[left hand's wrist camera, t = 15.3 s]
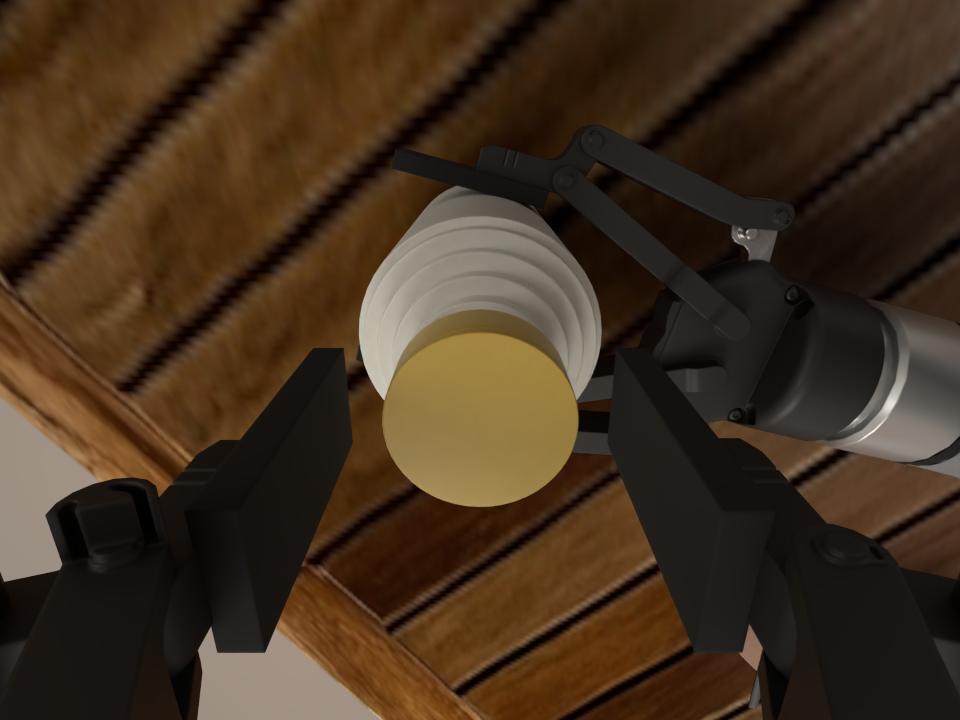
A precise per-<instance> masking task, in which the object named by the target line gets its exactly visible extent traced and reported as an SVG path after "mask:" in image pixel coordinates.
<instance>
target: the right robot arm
mask: <svg viewBox="0 0 960 720" xmlns="http://www.w3.org/2000/svg"><path fill="white" fill-rule="evenodd" d="M596 162H597V163H599V164H601V165H603V166H605V167H607V168H609V169H611V170H613V171H615V172H617V173H619V174H621V175H623V176H625V177H627V178H629V179H631V180H633V181H635V182H637V183H639V184H641V185H643V186H645V187H647V188H649V189H651V190H653V191H655V192H657V193H659V194H661V195H663V196H665V197H667V198H669V199H671V200H673V201H675V202H677V203H679V204H681V205H683V206H685V207H687V208H689V209H691V210H693V211H695V212H697V213H699V214H702V215H704V216H706V217H709V218H712V219H715V220H718V221H721V222H724V223H725V224H724V229H723V232H724V235H725V237H726V238H727V239H728V240H730V241H733V242H735V243H737V244H738V246H739V247H740V256H738V257H735V258H733V259H730V260H727V261H725V262H722V263H719V264H716V265H714V266H711V267H708V268H706V269H703V270H700V271H698V272H695V271H694V270H693V269H692V268H690V267H689V266H688V265H687V264H685V263H684V262H683V261H681V260H680V259H679V258H678V257H677V256H676V255H674V254H673V253H672V252H671V251H670V250H669V249H668V248H666V247H665V246H664V245H663V244H662V243H661V242H660V241H658V240H657V239H656V238H655V237H654V236H653V235H652V234H650V233H649V232H648V231H647V230H646V229H645V228H644V227H642V226H641V225H640V224H639V223H638V222H637V221H636V220H634V219H633V218H632V217H631V216H630V215H629V214H628V213H626V212H625V211H624V210H623V209H622V208H621V207H619V206H618V205H617V204H616V203H615V202H614V201H613V200H611V199H610V198H609V197H608V196H607V195H606V194H605V193H603V192H602V191H601V190H600V189H599V188H598V187H597V186H595V185H594V184H593V183H592V182H591V181H590V180H589V179H587V178H586V175H587V174H588V173H589V171H590V170H591V169H592V167H593V166H594V164H595V163H596ZM392 169H396V170H400V171H403V172H407V173H411V174H415V175H418V176H422V177H426V178H430V179H433V180H437V181H441V182H445V183H448V184H452V185H456V186H460V187H463V188H467V189H471V190H475V191H478V192H482V193H486V194H490V195H493V196H497V197H501V198H505V199H508V200H512V201H516V202H520V203H523V204H527V205H531V206H535V207H538V208H542V209H543V208H544V205H545V201H546V198H547V194H548V191H550V192H554V193H557V194H558V195H559V196H561V197H562V198H563V199H564V200H565V201H566V202H568V203H569V204H570V205H571V206H572V207H574V208H575V209H576V210H577V211H578V212H579V213H581V214H582V215H583V216H584V217H585V218H586V219H588V220H589V221H590V222H591V223H592V224H594V225H595V226H596V227H597V228H598V229H599V230H601V231H602V232H603V233H604V234H605V235H606V236H608V237H609V238H610V239H611V240H612V241H614V242H615V243H616V244H617V245H618V246H619V247H621V248H622V249H623V250H624V251H625V252H626V253H628V254H629V255H630V256H631V257H632V258H634V259H635V260H636V261H637V262H638V263H639V264H641V265H642V266H643V267H644V268H645V269H646V270H648V271H649V272H650V273H651V274H652V275H653V276H654V277H656V278H657V279H658V280H659V281H660V282H662V283H663V284H664V285H665V286H666V287H667V288H666V289H665V291H663V290H660V292H659V295H658V297H657V300H656V302H655V307H654V316H653V321H652V322H651V324H650V325H649V326H648V328H647V329H646V331H645V332H644V334H643V336H642V339H641V341H640V344H639V347H637V348H647V349H648V351H649V352H650V353H651V354H652V356H653V357H654V358H655V359H656V361H657V362H658V363H659V364H660V366H661V367H662V368H663V369H664V371H665V372H666V373H667V374H668V376H669V377H670V378H671V379H672V381H673V382H674V383H675V384H676V386H677V387H678V388H679V389H680V391H681V392H682V393H683V394H684V396H685V397H686V398H687V399H688V401H689V402H690V403H691V404H692V406H693V407H694V408H695V409H696V411H697V412H698V413H699V414H700V416H701V417H702V418H703V419H704V421H705V422H706V423H708V422H712V421H729V422H733V423H736V424H739V425H742V426H746V427H749V428H754V429H758V430H762V431H766V432H770V433H775V434H779V435H783V436H787V437H792V438H796V439H800V440H805V441H815V442H817V443H819V444H821V445H823V446H828V447H832V448H837V449H841V450H846V451H850V452H855V453H859V454H864V455H868V456H873V457H877V458H882V459H886V460H891V461H894V462H897V463H901V464H908V465H912V466H916V467H920V468H924V469H928V470H932V471H935V472H939V473H943V474H947V475H951V476H954V477H957V478H959V479H960V323H956V322H954V321H950V320H946V319H943V318H939V317H935V316H932V315H928V314H924V313H921V312H917V311H913V310H909V309H906V308H902V307H898V306H895V305H891V304H887V303H884V302H880V301H876V300H871V299H863V298H861V297H859V296H857V295H854V294H851V293H847V292H843V291H840V290H836V289H832V288H828V287H824V286H821V285H817V284H813V283H809V282H806V281H802V280H798V279H794V278H791V277H787V276H784V275H782V274H781V273H780V272H779V271H778V270H777V268H776V267H775V266H774V265H773V264H772V263H770V259H771V255H772V251H773V248H774V244H775V240H776V237H777V233H778V231H780V230H784V229H786V228H788V227H789V226H790V225H791V224H792V222H793V220H794V218H795V210H794V207H793V206H792V205H791V204H789V203H786V202H782V201H777V200H772V199H767V198H762V197H756V196H743V195H737V194H735V193H733V192H731V191H729V190H727V189H725V188H723V187H721V186H720V185H718V184H716V183H714V182H712V181H710V180H708V179H706V178H704V177H702V176H700V175H698V174H696V173H694V172H692V171H690V170H688V169H686V168H684V167H682V166H680V165H678V164H676V163H675V162H673V161H671V160H669V159H667V158H665V157H663V156H661V155H659V154H657V153H655V152H653V151H651V150H649V149H647V148H645V147H643V146H641V145H639V144H637V143H635V142H633V141H631V140H630V139H628V138H626V137H624V136H622V135H620V134H618V133H616V132H614V131H612V130H610V129H608V128H606V127H604V126H601V125H590V126H585V127H581V128H580V129H578V130H577V131H576V132H575V134H574V136H573V139H572V140H571V142H570V143H569V145H568V146H567V148H566V149H565V150H564V152H563V153H562V154H561V155H560V156H558V157H556V158H554V159H543V158H540V157H536V156H532V155H529V154H525V153H521V152H518V151H514V150H510V149H507V148H503V147H500V146H496V145H489V146H482V147H481V151H480V155H479V159H478V164H477V168H474V167H470V166H467V165H463V164H459V163H455V162H452V161H448V160H444V159H441V158H437V157H433V156H430V155H426V154H422V153H418V152H415V151H411V150H407V149H396V150H395V155H394V160H393V166H392ZM615 357H616V354H615V355H610V356H603V357H598V360H597V363H596V366H595V369H594V371H593V374H592V376H591V378H590V380H589V382H588V384H587V386H586V388H585V389H584V390H583V392H582V393H581V395H580V396H579V398H578V399H577V403H581V402H587V401H594V400H601V399H608V398H612V388H613V378H614V368H615ZM356 360H358V361H362V362H364V361H363V357H362V353H361V348H360V345H359V348H358V354H357V359H356ZM578 412H579V427H578V433H577V438H576V441H575V444H574V448H573V450H572V452H576V453H592V454H607V455H612V453H611V451H610V449H609V446H608V444H607V440H608V430H609V419H610V412H599V411H584V410H578Z"/></svg>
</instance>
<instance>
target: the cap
mask: <svg viewBox="0 0 960 720" xmlns="http://www.w3.org/2000/svg"><path fill="white" fill-rule="evenodd" d="M382 426H383V434H384V438H385V441H386V445H387V448H388V450H389V452H390V454H391V456H392V458H393V460H394V461H395V463H396V465H397V466H398V467H399V469H400V470H401V471H402V472H403V474H404V475H405V476H406V477H407V478H408V479H409V480H410V481H412V482H413V483H414V484H415V485H416V486H418V487H419V488H421V489H422V490H423V491H425V492H427V493H429V494H431V495H432V496H434V497H437V498H439V499H442V500H444V501H447V502H451V503H454V504H459V505H465V506H476V507H485V506H496V505H502V504H506V503H510V502H514V501H517V500H519V499H522V498H524V497H527V496H528V495H530V494H532V493H534V492H536V491H537V490H539V489H540V488H542V487H543V486H545V485H546V484H547V483H548V482H549V481H550V480H552V479H553V478H554V477H555V476H556V474H557V473H558V472H559V471H560V470H561V469H562V467H563V466H564V464H565V463H566V461H567V460H568V458H569V456H570V454H571V452H572V450H573V448H574V444H575V441H576V438H577V433H578V427H579V412H578V405H577V400H576V397H575V393H574V390H573V388H572V385H571V382H570V380H569V377H568V374H567V372H566V369H565V366H564V363H563V361H562V359H561V357H560V355H559V353H558V351H557V350H556V348H555V347H554V345H553V344H552V343H551V341H550V340H549V339H548V338H547V337H546V336H545V335H544V334H543V333H542V332H541V331H540V330H539V329H538V328H536V327H535V326H533V325H532V324H530V323H529V322H527V321H525V320H523V319H521V318H519V317H517V316H514V315H511V314H508V313H505V312H500V311H495V310H484V309H478V310H466V311H461V312H456V313H453V314H450V315H447V316H444V317H442V318H440V319H438V320H436V321H434V322H432V323H431V324H429V325H428V326H426V327H425V328H424V329H422V330H421V331H420V332H419V333H418V334H416V336H415V337H414V338H413V339H412V340H411V341H410V342H409V344H408V345H407V346H406V348H405V349H404V351H403V353H402V355H401V357H400V359H399V361H398V363H397V366H396V369H395V371H394V374H393V377H392V379H391V382H390V385H389V388H388V390H387V394H386V397H385V400H384V405H383V411H382Z"/></svg>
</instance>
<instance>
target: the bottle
mask: <svg viewBox="0 0 960 720" xmlns="http://www.w3.org/2000/svg"><path fill="white" fill-rule="evenodd" d="M478 309H484V310H495V311H500V312H505V313H508V314H511V315H514V316H517V317H519V318H521V319H523V320H525V321H527V322H529V323H530V324H532V325H533V326H535V327H536V328H538V329H539V330H540V331H541V332H542V333H543V334H544V335H545V336H546V337H547V338H548V339H549V340H550V341H551V343H552V344H553V345H554V347H555V348H556V350H557V351H558V353H559V355H560V357H561V359H562V361H563V363H564V366H565V369H566V372H567V374H568V377H569V380H570V382H571V385H572V388H573V390H574V393H575V397H576V400H577V399H578V398H579V396H580V395H581V393H582V392H583V390H584V389H585V388H586V386H587V384H588V382H589V380H590V378H591V376H592V374H593V371H594V369H595V366H596V363H597V360H598V356H599V351H600V346H601V332H602V328H601V315H600V310H599V306H598V301H597V298H596V295H595V292H594V290H593V287H592V285H591V283H590V281H589V279H588V277H587V275H586V273H585V272H584V270H583V269H582V268H581V266H580V265H579V263H578V262H577V261H576V259H575V258H574V257H573V256H572V254H571V253H570V252H569V251H568V249H567V248H566V247H565V245H564V244H563V243H562V242H561V240H560V239H559V238H558V237H557V235H556V234H555V233H554V232H553V230H552V229H551V228H550V227H549V225H548V224H547V223H546V222H545V220H544V219H543V218H542V217H541V215H540V214H539V213H538V212H537V210H536V209H535V208H534V207H533V206H531V205H527V204H523V203H520V202H516V201H512V200H508V199H505V198H501V197H497V196H493V195H490V194H486V193H482V192H478V191H475V190H471V189H467V188H463V187H460V186H455V187H453V188H451V189H448V190H446V191H445V192H443V193H442V194H440V195H439V196H437V197H436V198H435V199H434V200H433V201H432V202H431V203H430V204H429V205H428V206H427V207H426V208H425V210H424V211H423V212H422V213H421V215H420V216H419V217H418V218H417V220H416V221H415V222H414V223H413V225H412V226H411V227H410V229H409V230H408V231H407V232H406V234H405V235H404V236H403V237H402V239H401V240H400V241H399V242H398V244H397V245H396V246H395V247H394V249H393V250H392V251H391V253H390V254H389V255H388V256H387V258H386V259H385V260H384V261H383V263H382V264H381V266H380V267H379V269H378V270H377V272H376V273H375V275H374V276H373V278H372V280H371V282H370V284H369V286H368V289H367V291H366V294H365V297H364V300H363V303H362V308H361V314H360V322H359V338H360V348H361V353H362V357H363V361H364V364H365V367H366V369H367V372H368V375H369V377H370V379H371V381H372V383H373V384H374V386H375V388H376V390H377V391H378V393H379V394H380V395H381V397H382V398H383V399H384V400H385V397H386V394H387V390H388V388H389V385H390V382H391V379H392V377H393V374H394V371H395V369H396V366H397V363H398V361H399V359H400V357H401V355H402V353H403V351H404V349H405V348H406V346H407V345H408V344H409V342H410V341H411V340H412V339H413V338H414V337H415V336H416V334H418V333H419V332H420V331H421V330H422V329H424V328H425V327H426V326H428V325H429V324H431V323H432V322H434V321H436V320H438V319H440V318H442V317H444V316H447V315H450V314H453V313H456V312H461V311H466V310H478Z"/></svg>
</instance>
